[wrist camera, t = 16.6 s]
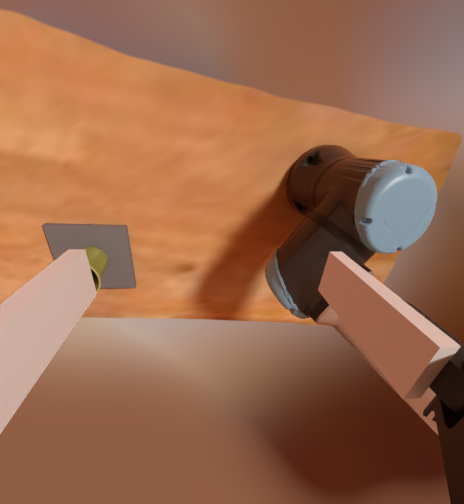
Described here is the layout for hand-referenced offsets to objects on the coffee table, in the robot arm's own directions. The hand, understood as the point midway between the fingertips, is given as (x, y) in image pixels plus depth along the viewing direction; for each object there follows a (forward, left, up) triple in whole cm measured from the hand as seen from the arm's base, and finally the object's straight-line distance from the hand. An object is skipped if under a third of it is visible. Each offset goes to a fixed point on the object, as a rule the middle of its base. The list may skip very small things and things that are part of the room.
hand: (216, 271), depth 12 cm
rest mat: (+25, +19, -37) cm, 48 cm away
